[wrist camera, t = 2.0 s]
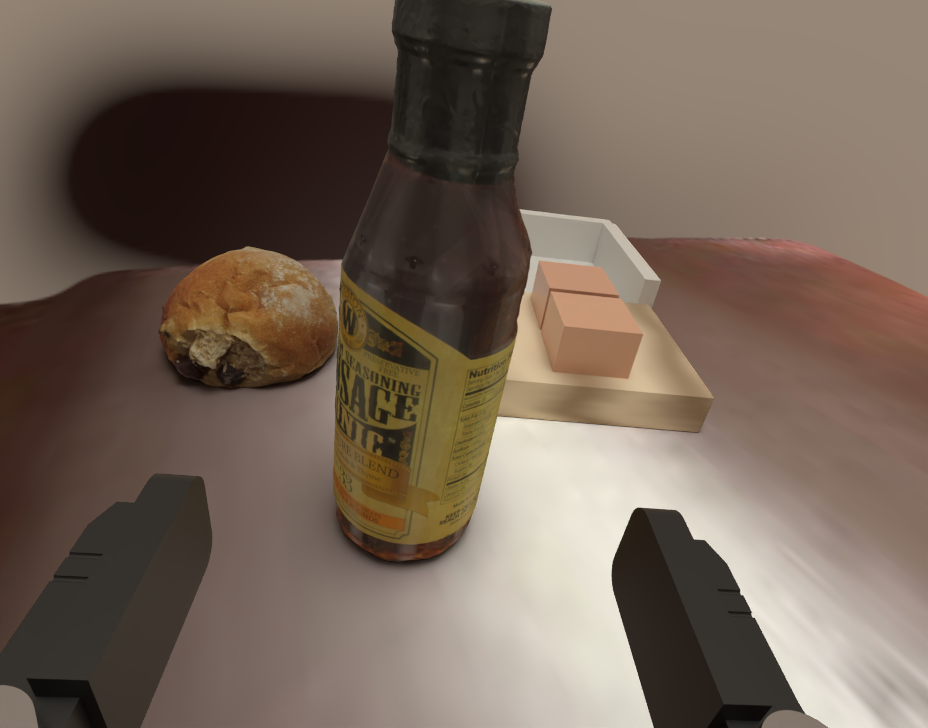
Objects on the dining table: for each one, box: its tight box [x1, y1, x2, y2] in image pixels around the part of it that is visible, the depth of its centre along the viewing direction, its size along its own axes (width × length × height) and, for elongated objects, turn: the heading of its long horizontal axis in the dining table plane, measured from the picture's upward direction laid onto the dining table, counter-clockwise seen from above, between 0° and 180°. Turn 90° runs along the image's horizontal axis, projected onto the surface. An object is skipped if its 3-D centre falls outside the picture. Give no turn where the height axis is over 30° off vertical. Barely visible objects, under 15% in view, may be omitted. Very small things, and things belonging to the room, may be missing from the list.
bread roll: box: [158, 247, 338, 388], centre depth 34 cm, size 10×10×8 cm
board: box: [497, 292, 714, 432], centre depth 37 cm, size 14×12×2 cm
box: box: [520, 210, 661, 309], centre depth 48 cm, size 15×14×4 cm
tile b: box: [531, 260, 619, 330], centre depth 38 cm, size 4×4×3 cm
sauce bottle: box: [333, 0, 552, 562], centre depth 20 cm, size 7×6×20 cm
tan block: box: [541, 291, 643, 379], centre depth 34 cm, size 4×4×3 cm
